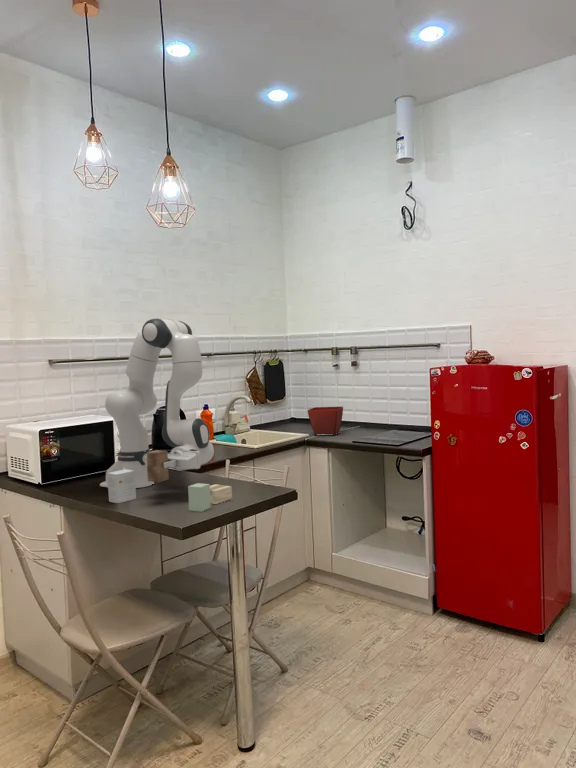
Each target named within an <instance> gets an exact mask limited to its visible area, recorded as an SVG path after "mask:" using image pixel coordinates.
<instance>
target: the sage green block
mask: <svg viewBox="0 0 576 768" xmlns="http://www.w3.org/2000/svg"><path fill="white" fill-rule="evenodd" d="M210 486H211V484H210V483H202V482H200V483H199V482H198V483H194V484H191V485H188V486H187V488H188V489H187V490H188V492H187V493H188V510H189V512H190V511H191V512H201V513H202V512H205V511H207V510H209V509H208V508H210V507H211V508H212V504H211V502H210ZM211 508H210V509H211ZM206 509H207V510H206ZM204 510H205V511H204Z"/></svg>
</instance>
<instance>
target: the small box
mask: <svg viewBox="0 0 576 768" xmlns="http://www.w3.org/2000/svg"><path fill="white" fill-rule="evenodd" d="M107 477H108V488H107V490H108V501H109V502H110V503H114V504H120V503H125V502H128V501H133V500H136V499H137V490H136V489H137V488H135V472H134V470H127V469H124V470H119V471H115V472H110V473H107Z"/></svg>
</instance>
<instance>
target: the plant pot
mask: <svg viewBox="0 0 576 768" xmlns="http://www.w3.org/2000/svg"><path fill="white" fill-rule="evenodd" d="M343 413H344V406H321V407H320V406H319V407H318V406H317V407H312V408H309V409H307V415H308V419H309V424H310V425H311V429H312V431H313V433H314V435H315V434H336V433H338V432H339V433H340V429H341V425H342V420H343ZM339 433H338V434H339ZM336 435H337V434H336Z"/></svg>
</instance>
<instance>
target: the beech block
mask: <svg viewBox="0 0 576 768" xmlns="http://www.w3.org/2000/svg"><path fill="white" fill-rule="evenodd" d="M231 498H232V499H233V488H232V486H231V485H230V486H229V485H226V484H225V485H224V484H216V483H215V484H212V485H211V484H210V502H211V503H213V504H217V503H219V502H222V501H225V500H228V499H231Z"/></svg>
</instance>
